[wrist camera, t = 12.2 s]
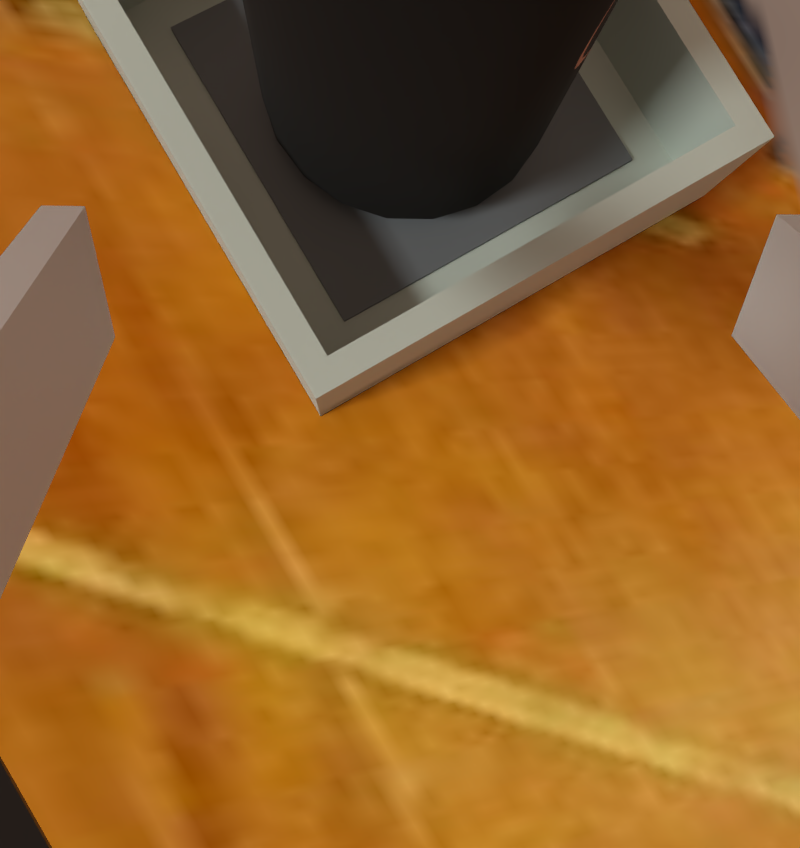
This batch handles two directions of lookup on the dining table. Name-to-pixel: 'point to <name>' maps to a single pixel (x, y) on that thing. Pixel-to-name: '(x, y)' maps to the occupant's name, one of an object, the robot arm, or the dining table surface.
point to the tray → (444, 236)
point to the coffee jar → (416, 92)
